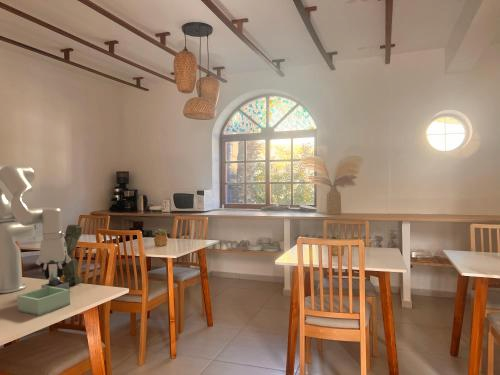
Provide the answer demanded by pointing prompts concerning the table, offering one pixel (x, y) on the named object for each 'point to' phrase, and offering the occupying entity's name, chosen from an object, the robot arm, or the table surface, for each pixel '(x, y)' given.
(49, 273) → the strut
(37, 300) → the bin
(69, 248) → the mechanical leg
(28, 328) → the table surface
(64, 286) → the socket block
